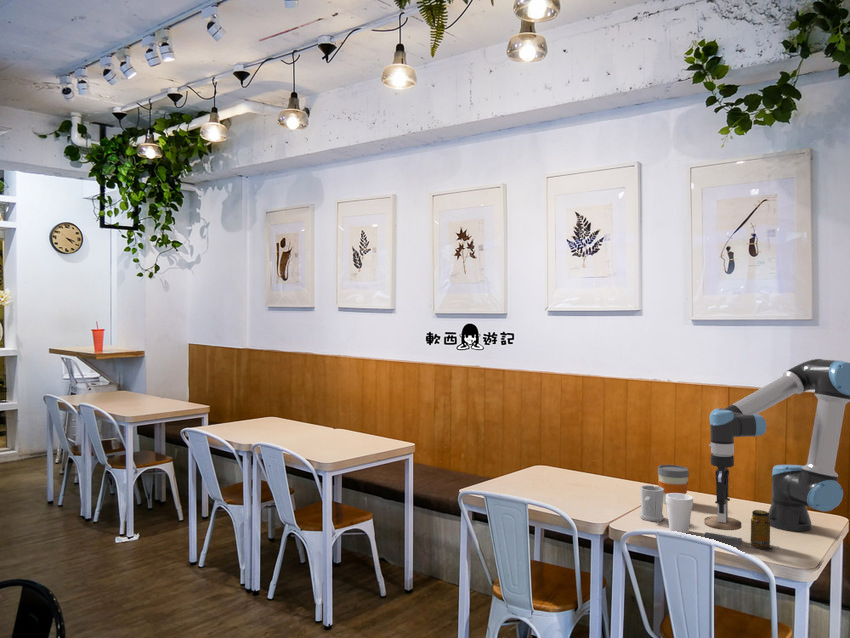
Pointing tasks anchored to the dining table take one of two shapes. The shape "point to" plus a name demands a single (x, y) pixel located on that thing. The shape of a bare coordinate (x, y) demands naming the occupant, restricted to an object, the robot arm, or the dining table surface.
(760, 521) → the condiment
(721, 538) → the mat
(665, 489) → the reusable coffee cup
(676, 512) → the foam cup
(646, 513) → the cup
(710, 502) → the dining table surface
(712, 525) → the lid
